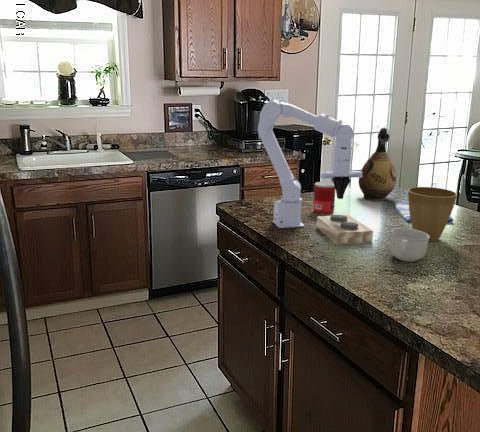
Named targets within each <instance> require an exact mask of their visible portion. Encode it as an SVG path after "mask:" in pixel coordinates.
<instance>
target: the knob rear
mask: <svg viewBox="0 0 480 432" xmlns="http://www.w3.org/2000/svg"><path fill="white" fill-rule="evenodd" d="M344 215H345V214H331V215H330V216H331V219H333V221H334V222H345V220H347V216H344Z"/></svg>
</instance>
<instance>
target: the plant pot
mask: <svg viewBox="0 0 480 432" xmlns="http://www.w3.org/2000/svg"><path fill="white" fill-rule="evenodd" d="M407 193H408V194H407V196H408V198H407V200H408V202H409V212H410V219H411V227H412V228H411V229H415V230H419V231H422V232H425V233H427V234H428V235H429V236H430V238H429V241H428V243H434V242H438V241H439V240H440V237H441V236H442V234H443V232H444V230H445V228H446V226H447V225H448V224H447V222H448V220H449V217H450V216H451V215H452V212H453V209H454V206H455V204H456V199H457V197H458V193H457V192H456V191H452V190H450V189H445V188H440V187H432V186H431V187H430V186H416V187H409V188H408V189H407Z"/></svg>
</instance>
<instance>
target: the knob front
mask: <svg viewBox="0 0 480 432" xmlns="http://www.w3.org/2000/svg"><path fill="white" fill-rule="evenodd" d="M341 226H342V227H343V229H344V230H352V229H355V228H357V227H358V224H357V223H353V222H342V223H341Z"/></svg>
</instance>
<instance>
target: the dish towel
mask: <svg viewBox="0 0 480 432" xmlns="http://www.w3.org/2000/svg"><path fill="white" fill-rule="evenodd" d="M394 204H395V205H394V208H395V210H396V211H397V212H398V214H400V215H401V217H402V218H403V219H404V220H405V221H406V222H407V223H410V222H411V219H410V212H409V201H400V202H395V203H394ZM453 222H454V218H453V217H452V216H451V215H450V217H449V220H448V222H447V224H446V225H452V224H453Z"/></svg>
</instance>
